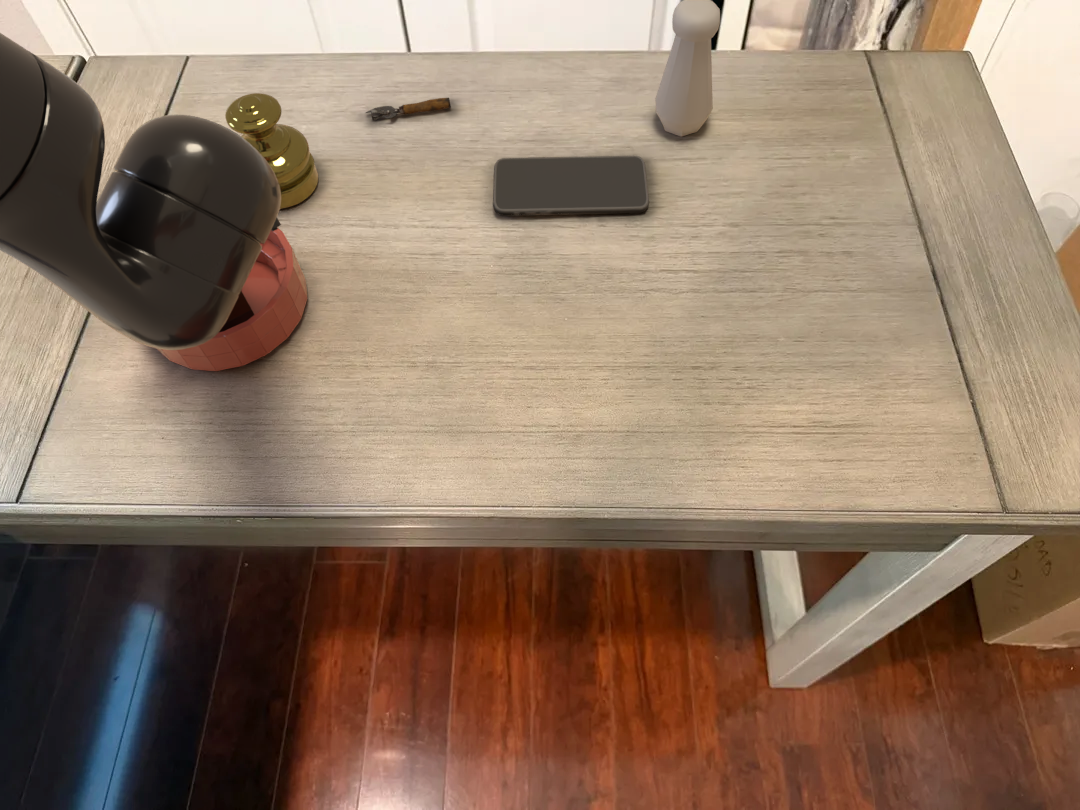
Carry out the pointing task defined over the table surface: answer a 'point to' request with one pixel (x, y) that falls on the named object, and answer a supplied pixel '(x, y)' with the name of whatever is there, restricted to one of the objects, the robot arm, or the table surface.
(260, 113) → the brass weight
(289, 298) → the bowl
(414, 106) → the can opener
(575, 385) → the table surface
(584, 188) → the smartphone
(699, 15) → the salt shaker
